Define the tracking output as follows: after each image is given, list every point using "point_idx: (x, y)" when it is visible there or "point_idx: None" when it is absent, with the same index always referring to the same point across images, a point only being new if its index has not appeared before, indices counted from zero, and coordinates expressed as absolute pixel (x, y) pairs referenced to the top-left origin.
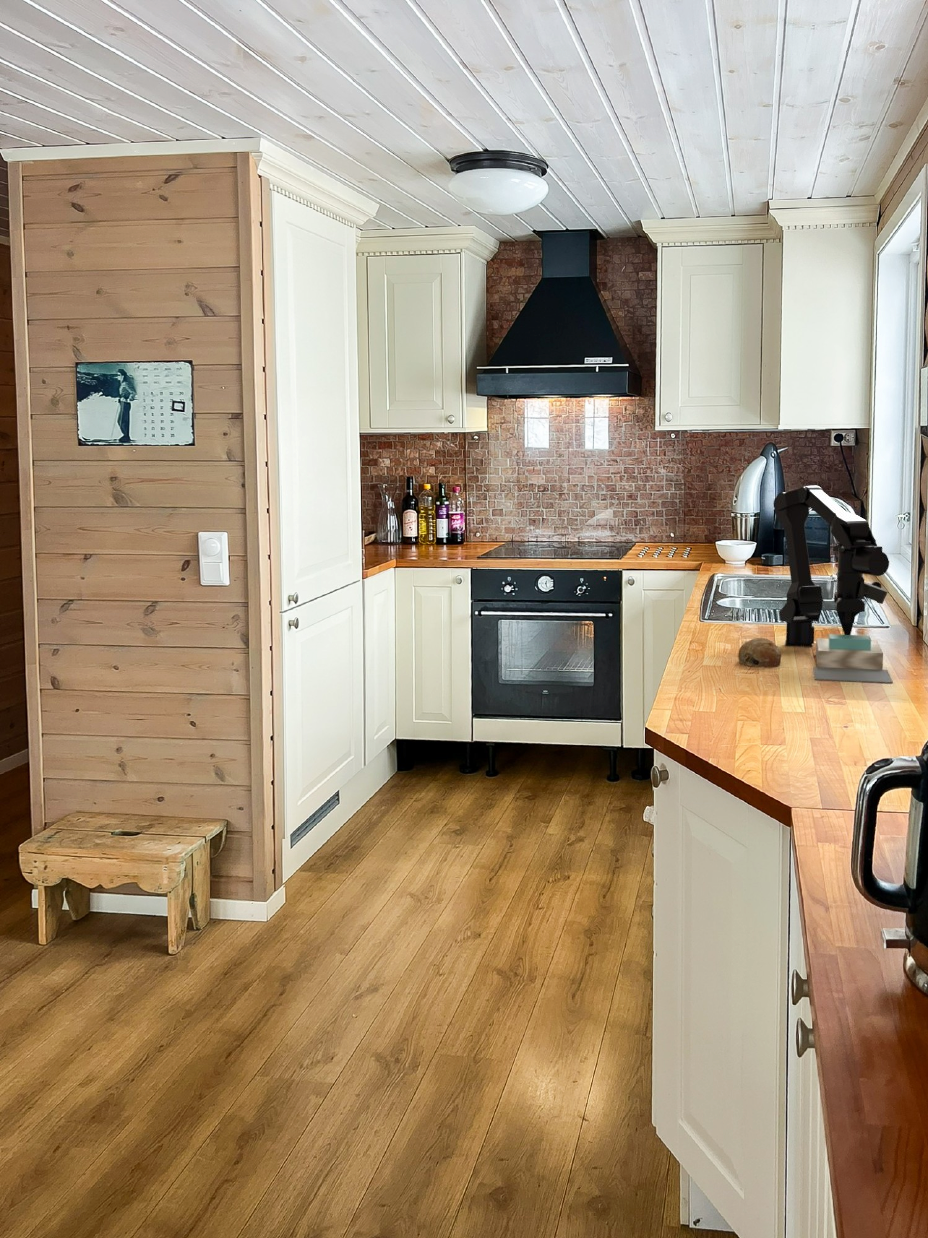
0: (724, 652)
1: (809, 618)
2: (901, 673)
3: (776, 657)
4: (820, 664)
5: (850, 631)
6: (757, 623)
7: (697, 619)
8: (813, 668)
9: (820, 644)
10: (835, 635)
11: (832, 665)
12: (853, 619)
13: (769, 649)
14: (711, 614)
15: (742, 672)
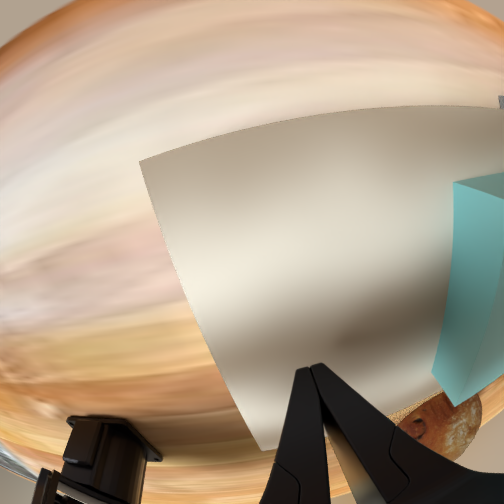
0: None
1: (77, 492)
2: (500, 56)
3: (476, 396)
4: None
5: (348, 386)
6: (5, 448)
7: None
8: None
9: (424, 393)
10: (486, 373)
11: None
12: (434, 455)
13: (481, 417)
14: (16, 470)
15: (495, 387)
